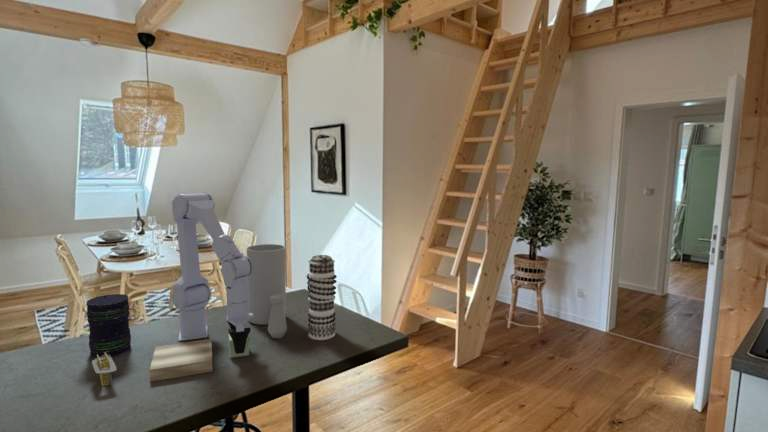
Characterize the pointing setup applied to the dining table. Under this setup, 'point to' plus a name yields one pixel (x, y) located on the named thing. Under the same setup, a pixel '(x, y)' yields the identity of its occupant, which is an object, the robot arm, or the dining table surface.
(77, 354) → the dining table surface
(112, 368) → the platform
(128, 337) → the storage jar
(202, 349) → the birch base
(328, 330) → the black white patterned cylinder
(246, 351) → the green cube
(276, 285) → the cylinder vase
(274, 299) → the salt shaker
